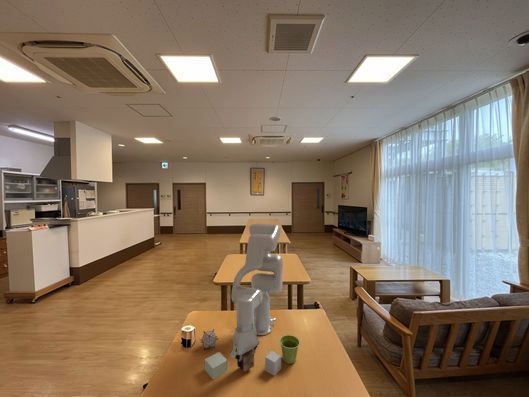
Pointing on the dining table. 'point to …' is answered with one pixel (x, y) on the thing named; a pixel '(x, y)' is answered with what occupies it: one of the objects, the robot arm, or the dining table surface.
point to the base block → (216, 365)
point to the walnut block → (248, 360)
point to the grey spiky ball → (209, 339)
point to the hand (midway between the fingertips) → (245, 363)
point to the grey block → (273, 363)
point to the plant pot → (289, 348)
